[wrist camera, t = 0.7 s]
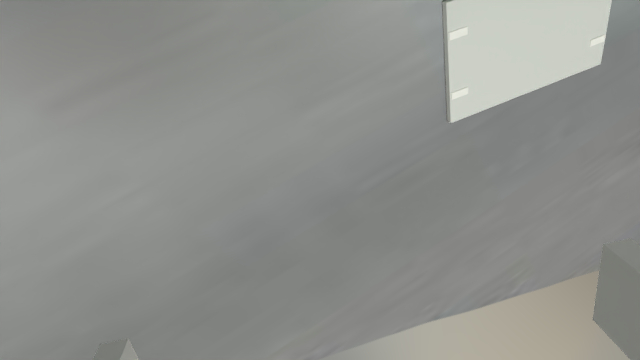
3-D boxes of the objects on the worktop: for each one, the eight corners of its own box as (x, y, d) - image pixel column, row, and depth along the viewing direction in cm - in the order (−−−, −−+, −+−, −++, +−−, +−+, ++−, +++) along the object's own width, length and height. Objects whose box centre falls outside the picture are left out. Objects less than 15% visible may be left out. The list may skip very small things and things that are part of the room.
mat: (442, 1, 32) (447, 3, 31) (615, -57, 34) (622, -57, 34) (447, 121, 37) (451, 123, 37) (595, 62, 40) (601, 64, 40)
